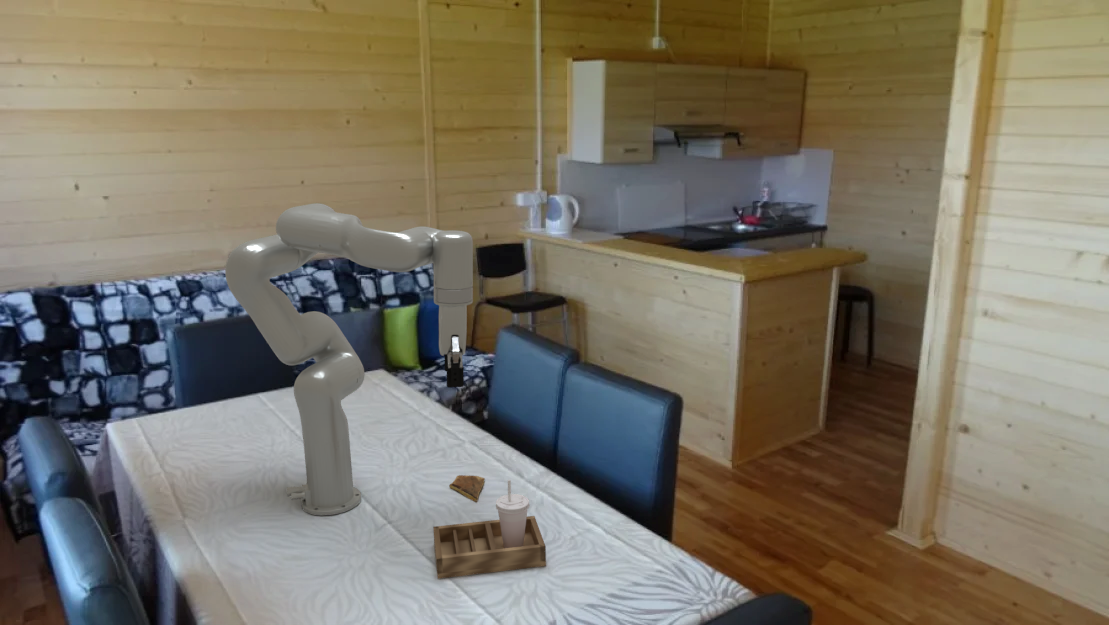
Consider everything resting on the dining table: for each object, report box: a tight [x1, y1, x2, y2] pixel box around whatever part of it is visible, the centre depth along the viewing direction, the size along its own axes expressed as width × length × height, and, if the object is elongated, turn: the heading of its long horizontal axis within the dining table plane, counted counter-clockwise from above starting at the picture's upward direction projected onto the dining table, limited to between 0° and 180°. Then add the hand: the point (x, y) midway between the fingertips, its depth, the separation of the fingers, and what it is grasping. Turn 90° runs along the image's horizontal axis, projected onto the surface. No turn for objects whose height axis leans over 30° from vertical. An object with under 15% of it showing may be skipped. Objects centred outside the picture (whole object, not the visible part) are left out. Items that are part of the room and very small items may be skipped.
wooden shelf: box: [432, 515, 547, 580], centre depth 151 cm, size 20×12×4 cm, turn 101°
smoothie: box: [495, 479, 531, 548], centre depth 150 cm, size 6×6×14 cm
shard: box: [449, 474, 486, 502], centre depth 178 cm, size 11×8×2 cm
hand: (453, 378), depth 158 cm, fingers open, 9 cm apart
